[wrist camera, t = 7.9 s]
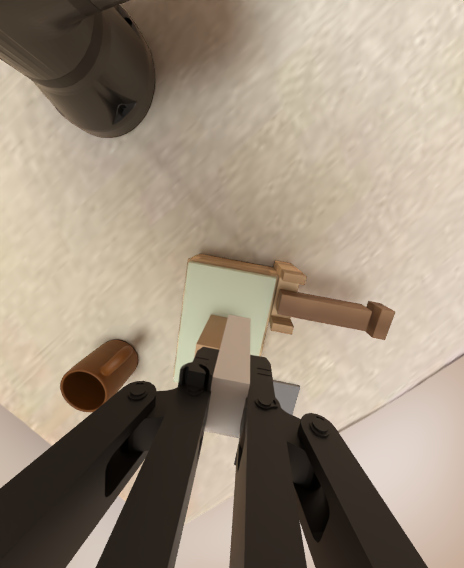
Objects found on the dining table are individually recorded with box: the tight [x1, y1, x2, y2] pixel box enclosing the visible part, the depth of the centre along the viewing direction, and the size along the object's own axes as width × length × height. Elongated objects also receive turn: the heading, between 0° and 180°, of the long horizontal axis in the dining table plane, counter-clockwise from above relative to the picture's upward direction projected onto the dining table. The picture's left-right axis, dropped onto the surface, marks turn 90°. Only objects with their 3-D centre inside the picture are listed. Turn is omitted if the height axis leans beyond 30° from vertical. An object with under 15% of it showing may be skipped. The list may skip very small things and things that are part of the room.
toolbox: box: [173, 254, 307, 377], centre depth 33 cm, size 19×14×10 cm
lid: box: [173, 261, 276, 383], centre depth 27 cm, size 18×11×10 cm, turn 170°
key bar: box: [276, 289, 395, 340], centre depth 26 cm, size 3×12×3 cm, turn 80°
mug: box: [60, 340, 138, 412], centre depth 37 cm, size 12×8×9 cm, turn 132°
